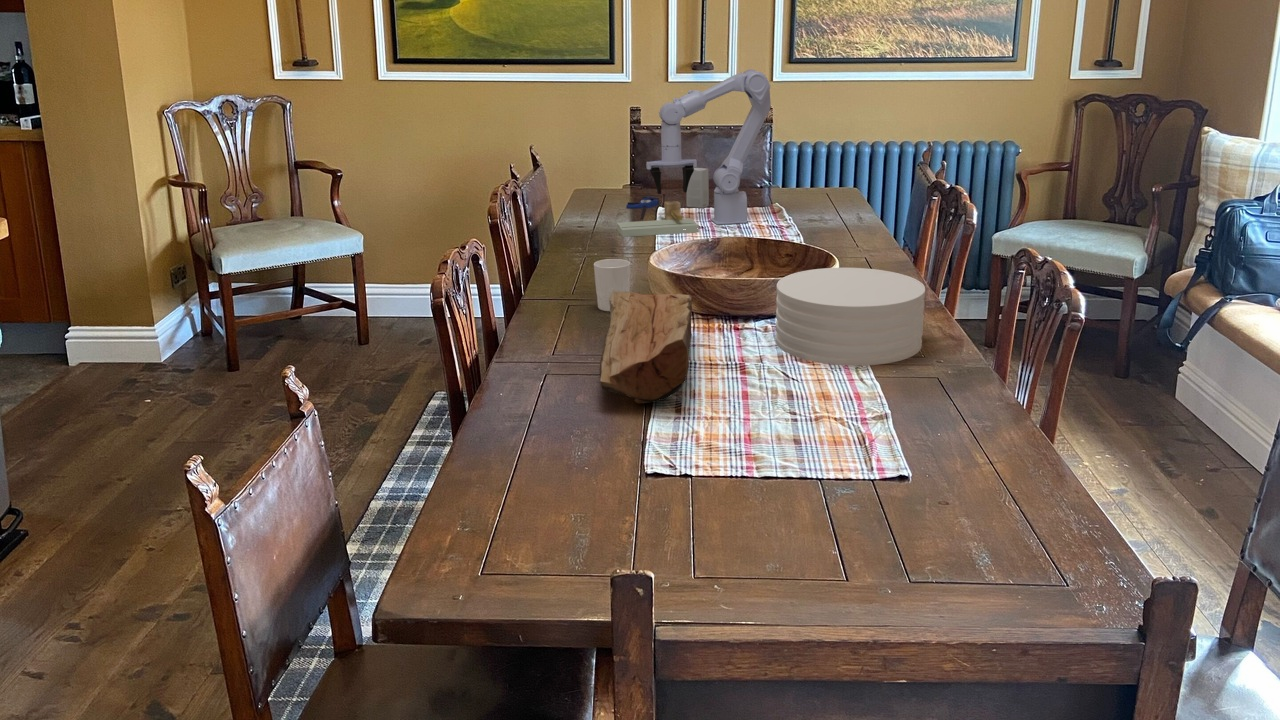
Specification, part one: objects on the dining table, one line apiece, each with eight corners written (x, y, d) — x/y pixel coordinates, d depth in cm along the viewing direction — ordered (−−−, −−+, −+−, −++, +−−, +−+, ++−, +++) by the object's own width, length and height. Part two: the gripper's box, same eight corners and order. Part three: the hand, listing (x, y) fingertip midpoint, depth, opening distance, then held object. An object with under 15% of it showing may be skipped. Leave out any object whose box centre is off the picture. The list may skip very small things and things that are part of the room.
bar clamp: (628, 196, 349) (659, 195, 348) (628, 203, 350) (659, 203, 349) (620, 220, 319) (654, 220, 318) (621, 228, 320) (654, 228, 319)
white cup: (618, 314, 231) (617, 269, 228) (588, 309, 235) (586, 265, 232) (638, 305, 237) (636, 261, 234) (608, 300, 241) (606, 257, 238)
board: (691, 225, 315) (691, 218, 314) (698, 232, 306) (698, 224, 305) (616, 229, 312) (616, 222, 311) (622, 236, 302) (622, 229, 302)
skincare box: (709, 206, 341) (709, 168, 337) (702, 208, 338) (702, 170, 334) (692, 204, 344) (692, 167, 340) (685, 207, 341) (685, 169, 337)
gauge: (677, 222, 319) (677, 200, 316) (686, 231, 307) (686, 209, 305) (664, 223, 318) (664, 201, 316) (673, 232, 306) (672, 209, 304)
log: (685, 411, 176) (692, 320, 174) (579, 402, 177) (584, 312, 175) (693, 365, 218) (698, 292, 215) (607, 359, 219) (611, 285, 216)
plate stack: (837, 313, 229) (839, 260, 225) (950, 342, 209) (955, 285, 205) (746, 342, 212) (746, 286, 208) (860, 377, 192) (863, 315, 188)
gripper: (692, 142, 314) (693, 188, 318) (643, 145, 311) (645, 191, 316) (698, 145, 307) (698, 193, 312) (648, 148, 305) (649, 196, 309)
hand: (672, 192), depth 313 cm, fingers open, 7 cm apart
